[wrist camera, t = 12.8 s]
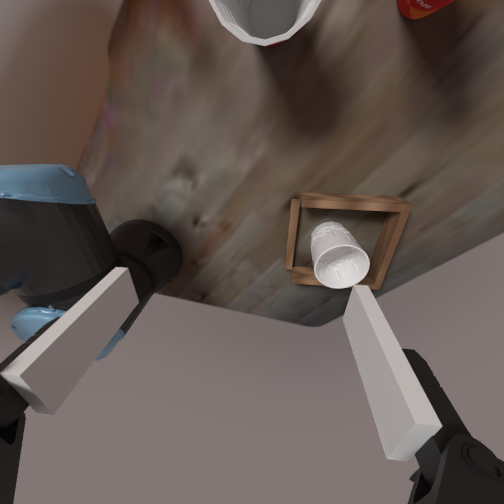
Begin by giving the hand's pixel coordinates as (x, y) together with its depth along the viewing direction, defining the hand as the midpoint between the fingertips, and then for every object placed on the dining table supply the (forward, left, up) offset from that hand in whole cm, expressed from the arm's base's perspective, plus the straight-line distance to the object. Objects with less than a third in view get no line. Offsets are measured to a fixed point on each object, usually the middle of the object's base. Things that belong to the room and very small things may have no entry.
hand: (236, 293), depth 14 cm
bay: (+14, -10, -29) cm, 33 cm away
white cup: (+12, -10, -29) cm, 33 cm away
